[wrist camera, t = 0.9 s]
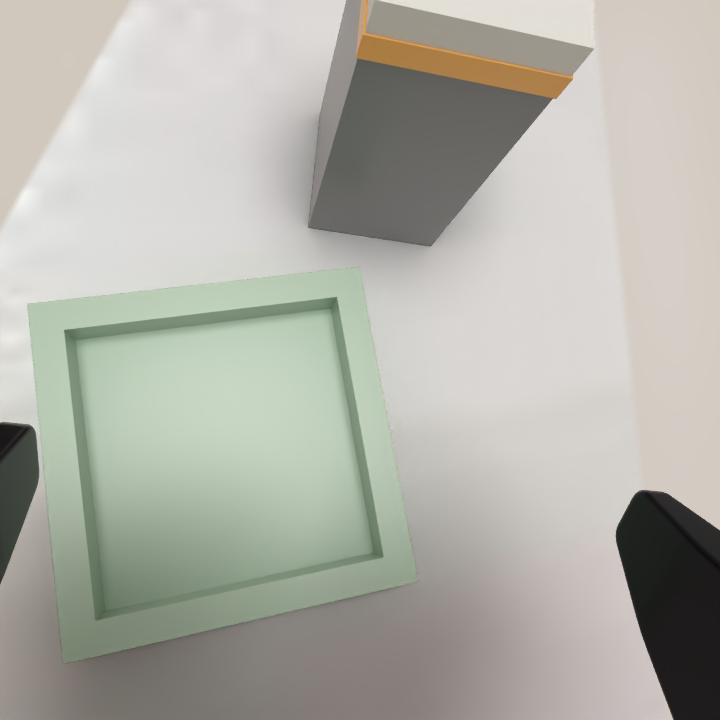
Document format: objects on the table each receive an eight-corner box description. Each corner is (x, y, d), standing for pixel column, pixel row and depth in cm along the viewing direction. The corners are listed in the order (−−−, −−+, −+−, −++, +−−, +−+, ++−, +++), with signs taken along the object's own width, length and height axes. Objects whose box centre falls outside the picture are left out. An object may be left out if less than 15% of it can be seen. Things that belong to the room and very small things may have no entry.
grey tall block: (431, 247, 25) (596, 51, 14) (306, 228, 25) (372, 1, 13) (438, 134, 27) (596, -136, 15) (318, 112, 26) (388, -193, 14)
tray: (402, 573, 23) (418, 581, 21) (79, 647, 20) (62, 664, 18) (349, 283, 24) (359, 266, 22) (45, 319, 22) (27, 303, 20)
